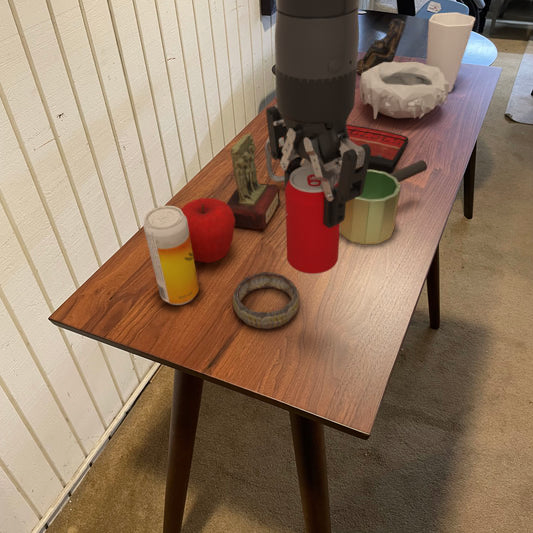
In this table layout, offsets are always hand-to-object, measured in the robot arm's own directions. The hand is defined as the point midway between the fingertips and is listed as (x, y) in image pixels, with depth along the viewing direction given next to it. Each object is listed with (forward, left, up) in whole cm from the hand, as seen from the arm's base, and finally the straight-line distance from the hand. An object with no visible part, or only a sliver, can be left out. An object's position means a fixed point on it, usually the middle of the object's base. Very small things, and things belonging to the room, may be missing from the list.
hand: (313, 209), depth 58 cm
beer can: (+15, -17, -23) cm, 32 cm away
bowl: (-51, -56, -23) cm, 79 cm away
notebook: (-32, -46, -23) cm, 60 cm away
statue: (-58, -80, -23) cm, 101 cm away
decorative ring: (+3, -8, -23) cm, 24 cm away
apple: (+8, -24, -23) cm, 34 cm away
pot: (-24, -20, -22) cm, 39 cm away
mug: (-15, -35, -23) cm, 44 cm away
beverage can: (0, 0, -8) cm, 8 cm away
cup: (-68, -65, -23) cm, 97 cm away
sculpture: (-3, -32, -23) cm, 39 cm away
